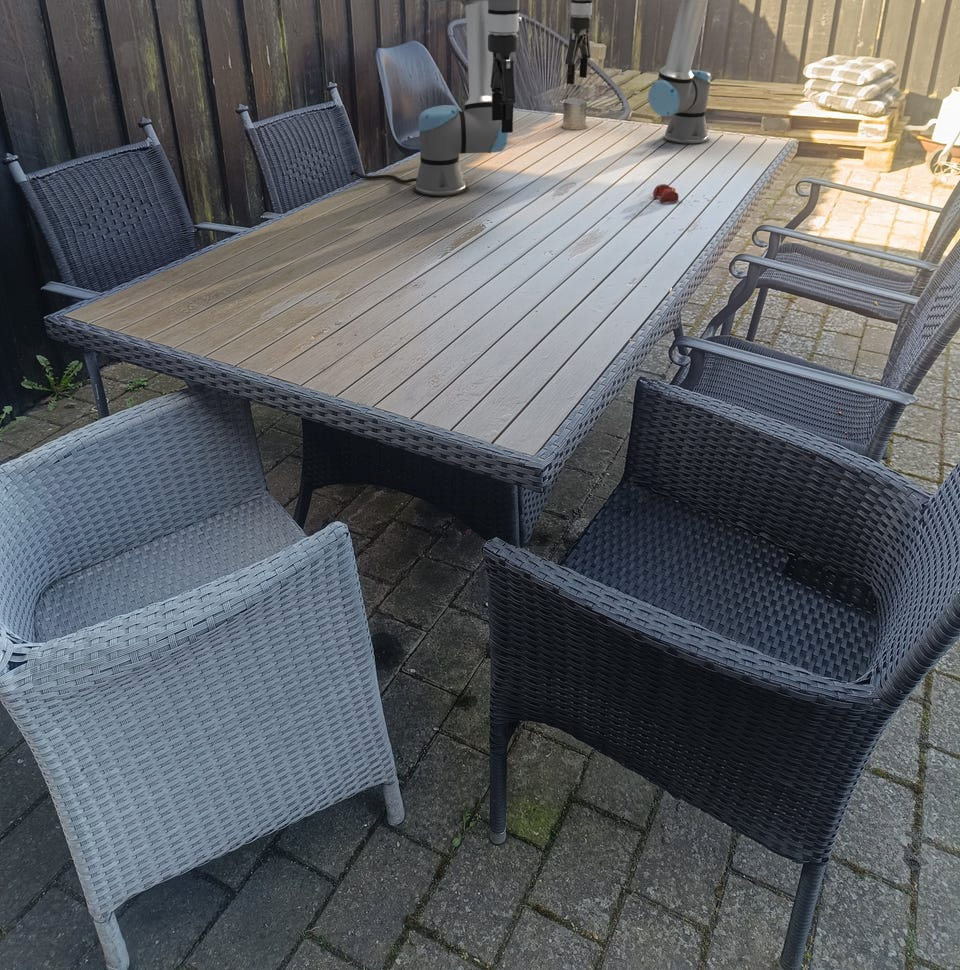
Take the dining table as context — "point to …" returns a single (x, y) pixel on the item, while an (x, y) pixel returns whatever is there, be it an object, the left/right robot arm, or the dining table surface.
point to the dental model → (665, 193)
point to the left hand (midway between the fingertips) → (502, 126)
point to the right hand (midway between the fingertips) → (576, 80)
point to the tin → (574, 114)
